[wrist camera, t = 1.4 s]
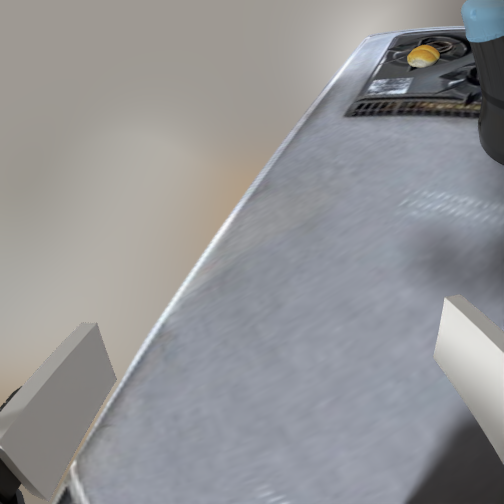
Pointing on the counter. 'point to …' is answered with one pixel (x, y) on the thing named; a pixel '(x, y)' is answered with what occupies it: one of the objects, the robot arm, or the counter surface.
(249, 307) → the counter surface
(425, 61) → the bread roll
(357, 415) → the counter surface
